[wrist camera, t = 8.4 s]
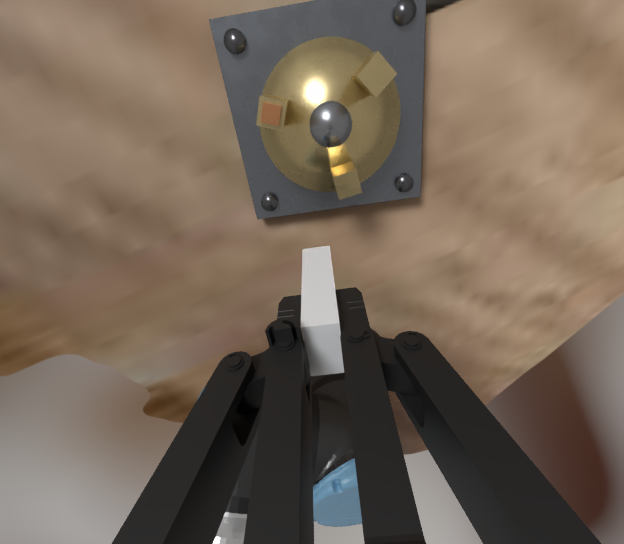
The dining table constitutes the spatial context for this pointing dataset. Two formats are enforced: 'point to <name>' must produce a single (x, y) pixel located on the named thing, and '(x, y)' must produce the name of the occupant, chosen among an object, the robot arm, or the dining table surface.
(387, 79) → the three-jaw lathe chuck
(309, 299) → the robot arm
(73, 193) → the dining table surface
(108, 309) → the dining table surface
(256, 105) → the plate
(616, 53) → the dining table surface
